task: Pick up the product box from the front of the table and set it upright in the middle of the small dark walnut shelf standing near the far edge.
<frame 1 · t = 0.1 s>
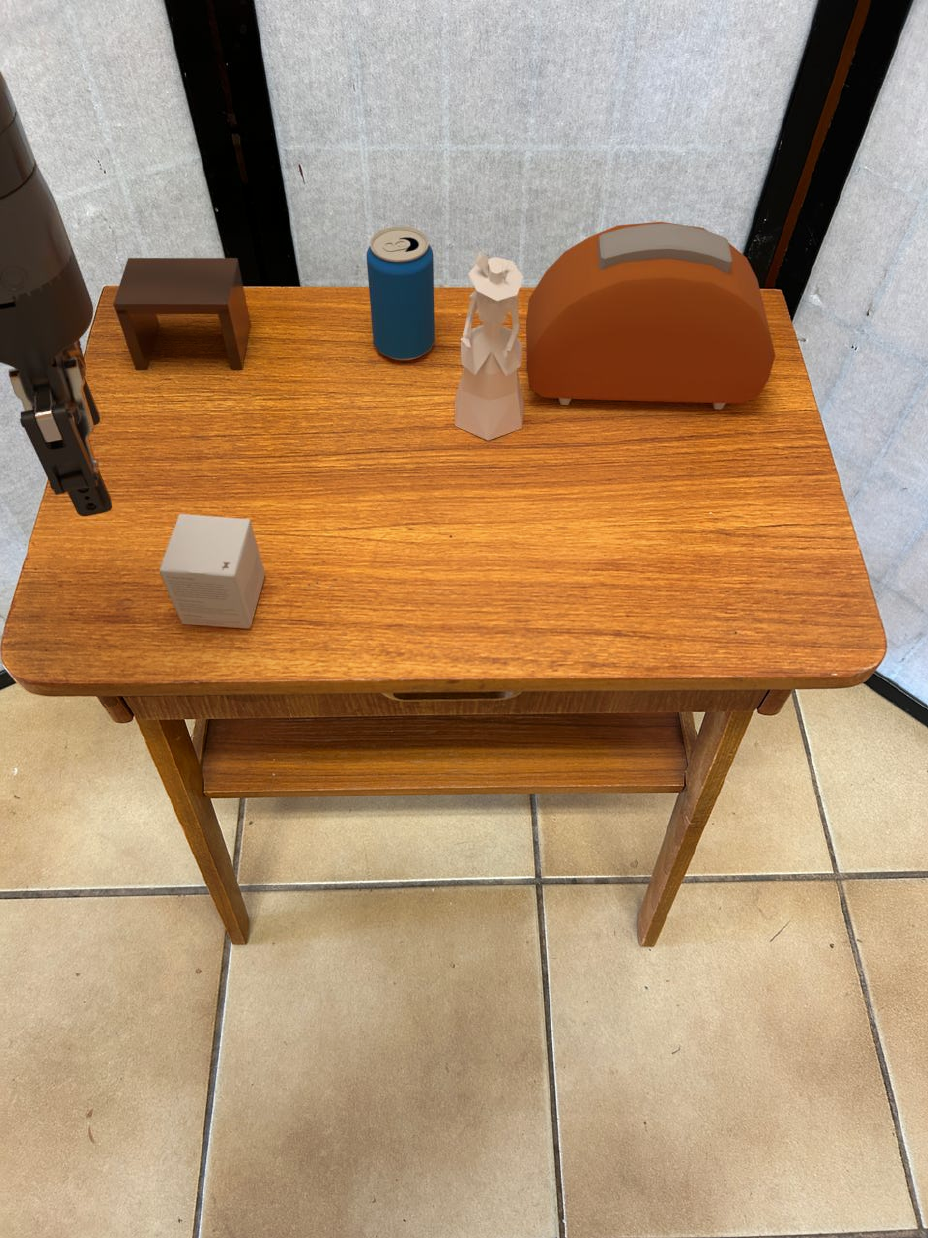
hand: (90, 465, 65), 18 cm above the table, tool pointing down, fingers open, 8 cm apart
figurine: (489, 414, 95), on the table
shelf: (194, 346, 100), on the table
orange toaster: (637, 383, 98), on the table
beverage can: (404, 346, 101), on the table
product box: (224, 600, 81), on the table
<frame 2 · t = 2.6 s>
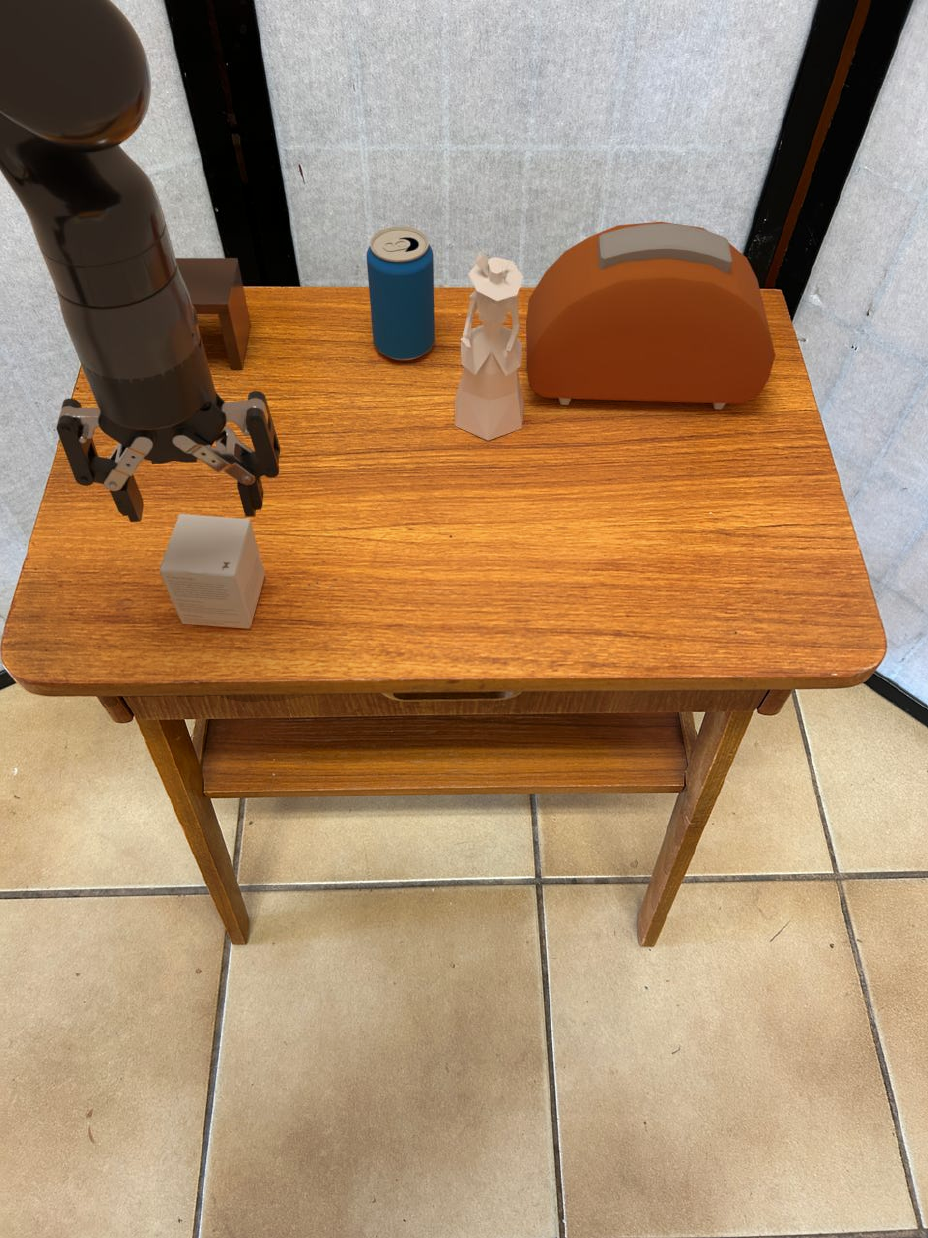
hand: (195, 511, 72), 11 cm above the table, tool pointing down, fingers open, 8 cm apart
nothing on the table moved.
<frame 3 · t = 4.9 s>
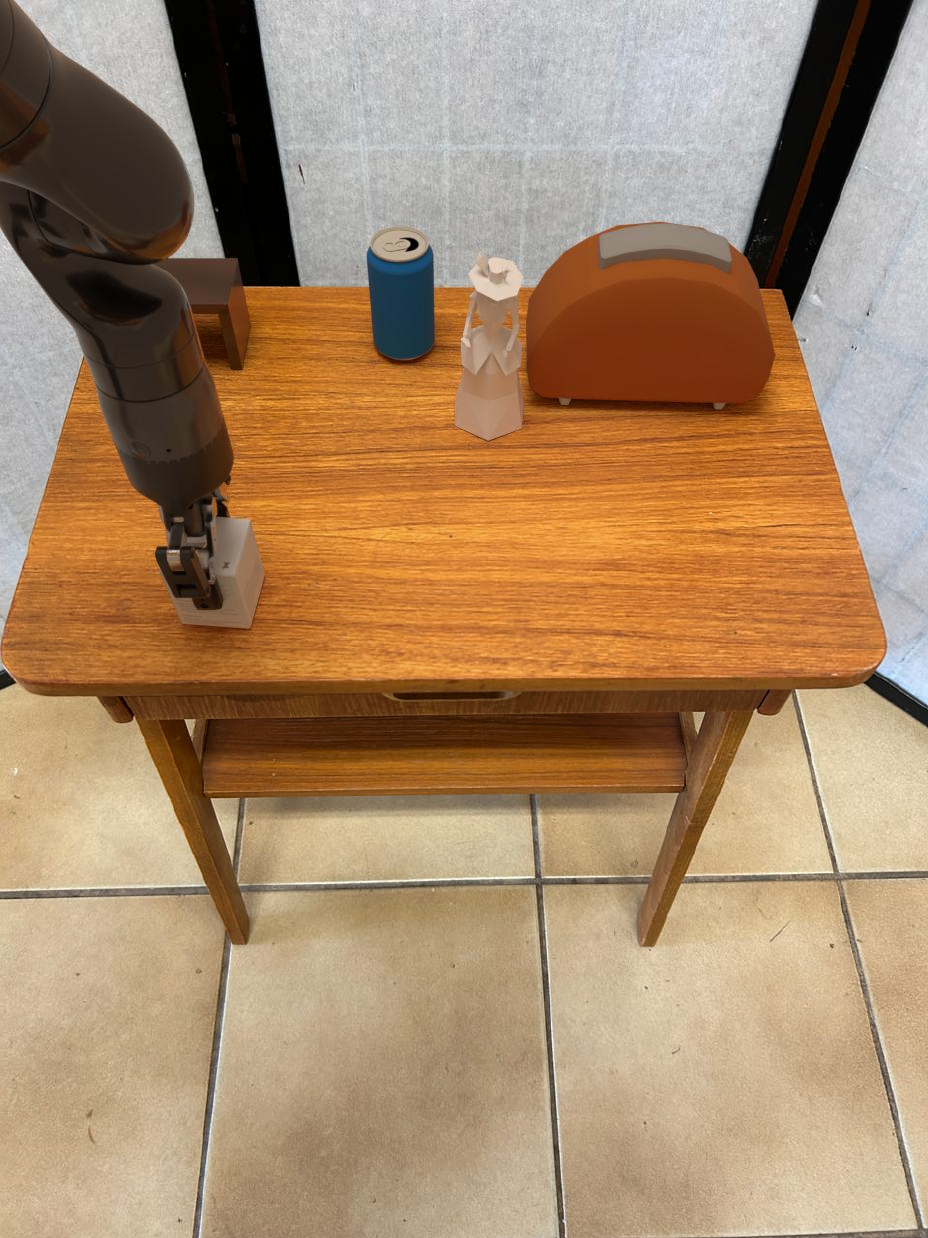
hand: (216, 571, 78), 4 cm above the table, tool pointing down, fingers closed on product box, 6 cm apart
product box: (224, 600, 81), on the table, touching gripper
everything else where it was.
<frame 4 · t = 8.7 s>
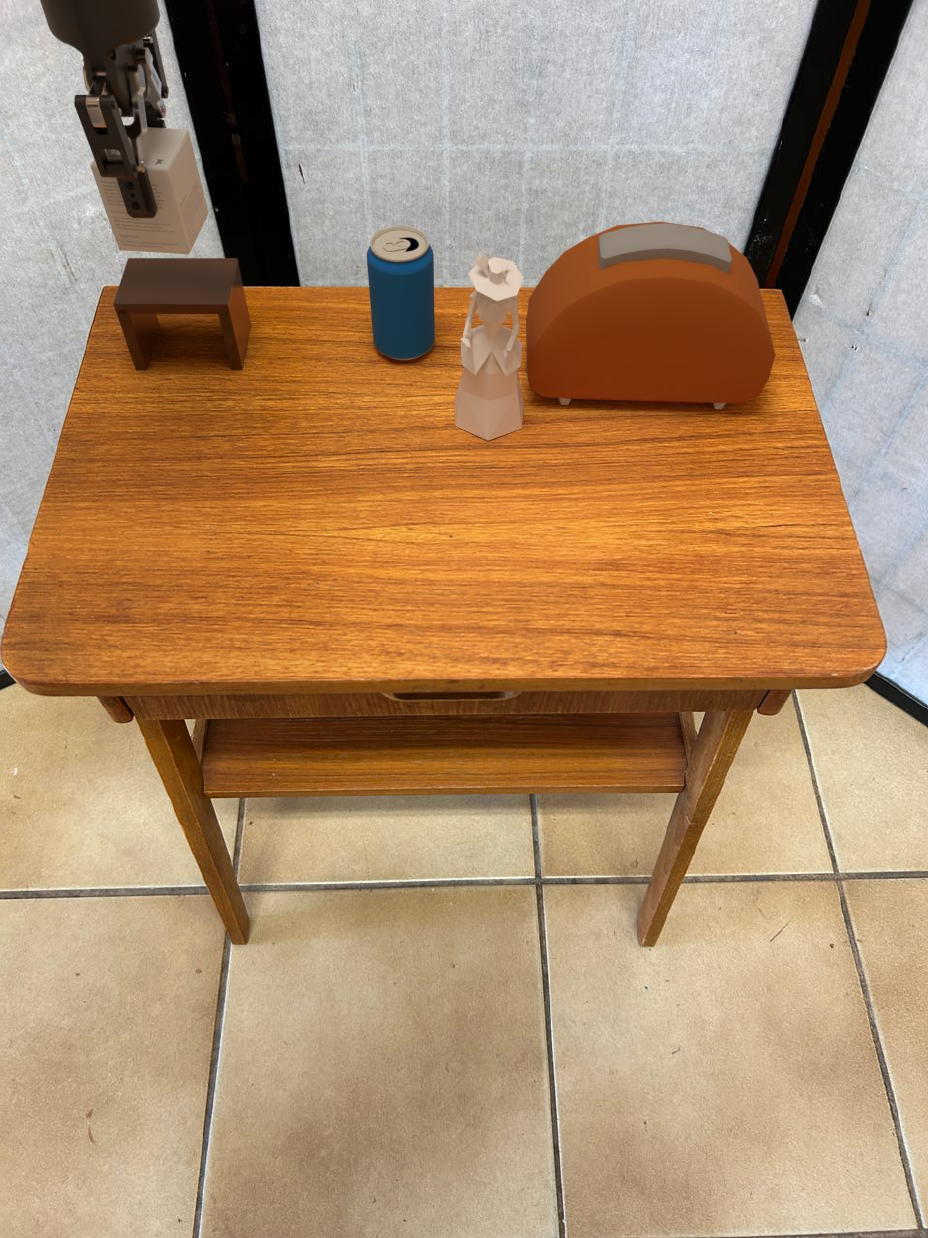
hand: (152, 189, 76), 23 cm above the table, tool pointing down, fingers closed on product box, 6 cm apart
product box: (165, 234, 79), point 19 cm above the table, touching gripper
everything else where it was.
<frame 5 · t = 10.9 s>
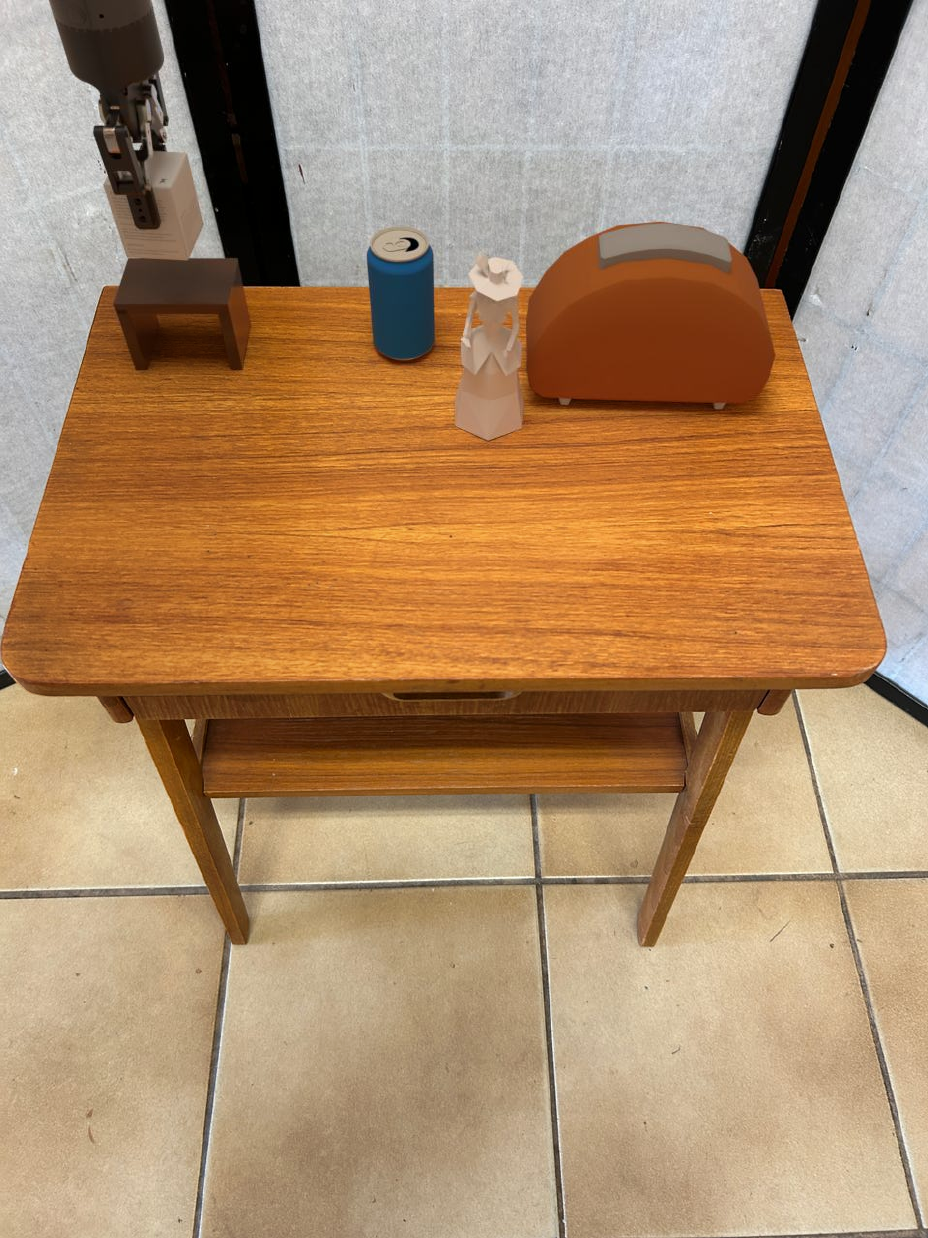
hand: (155, 204, 87), 16 cm above the table, tool pointing down, fingers closed on product box, 6 cm apart
product box: (166, 243, 90), point 12 cm above the table, touching gripper
everything else where it was.
when the fingers open (12 cm above the table, at t = 12.6 s): product box stays where it is, resting on shelf.
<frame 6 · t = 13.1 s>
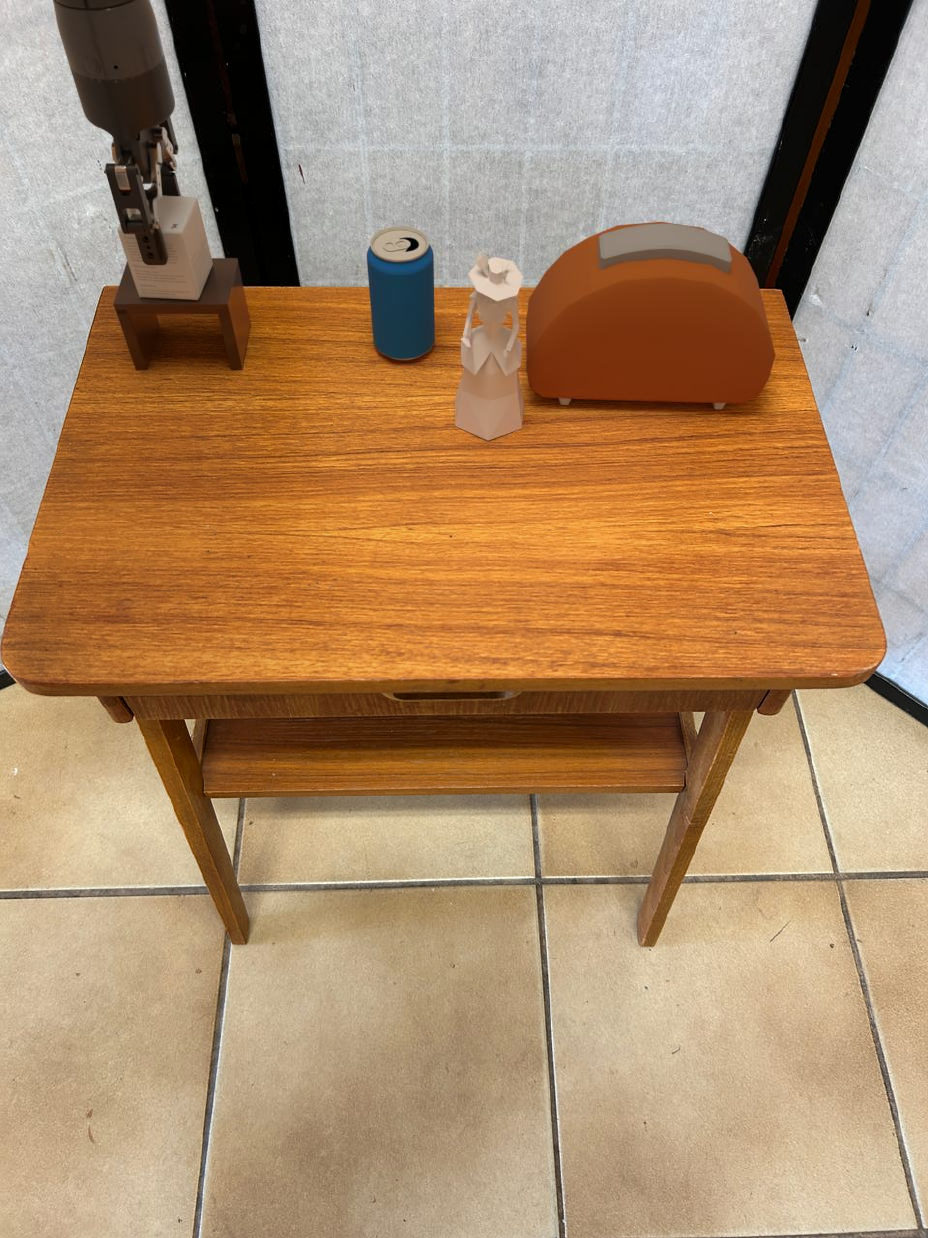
hand: (164, 236, 90), 13 cm above the table, tool pointing down, fingers open, 8 cm apart
product box: (177, 283, 94), point 8 cm above the table, touching shelf
everything else where it was.
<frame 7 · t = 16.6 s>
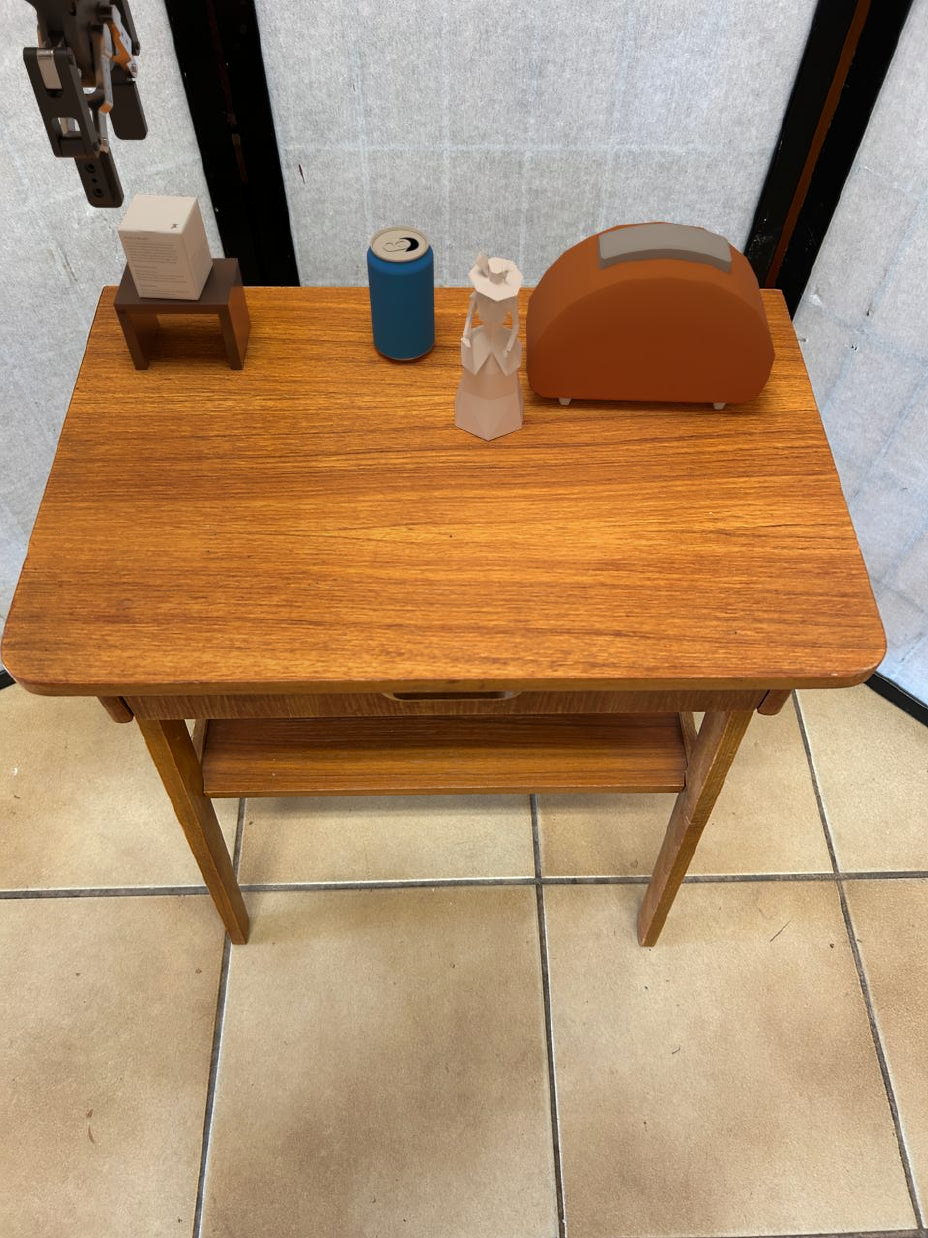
hand: (121, 169, 64), 30 cm above the table, tool pointing down, fingers open, 8 cm apart
nothing on the table moved.
at the end: product box 0.1 cm off-centre on the shelf, point 7.8 cm above the shelf's base; product box tilted 0°; the gripper is holding nothing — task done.
